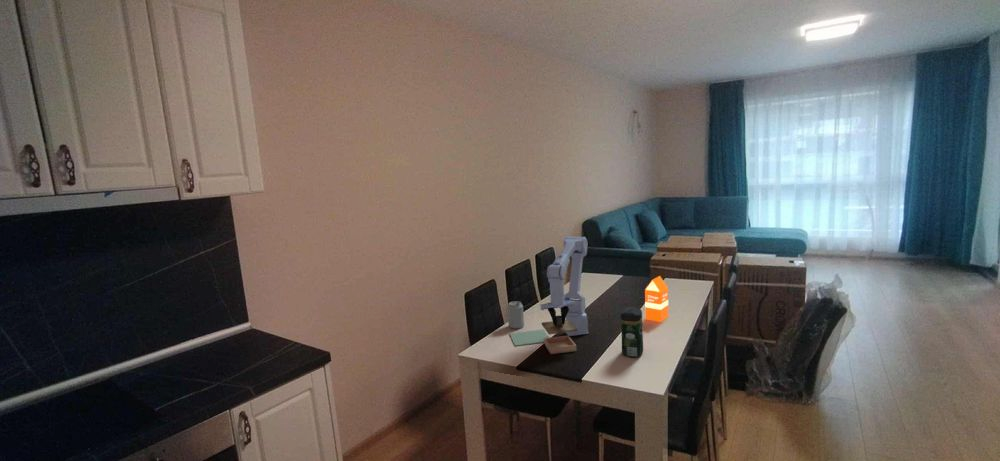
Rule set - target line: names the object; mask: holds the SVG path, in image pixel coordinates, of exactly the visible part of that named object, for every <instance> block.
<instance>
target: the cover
mask: <svg viewBox="0 0 1000 461" xmlns="http://www.w3.org/2000/svg"><path fill="white" fill-rule="evenodd" d="M541 326H542V327H543V328H544V331H546V332H547V333H546V334H547V335H557V334H564V333H565V334H566V332H573V331H577V328H576V327H575V326H574V325H573V324H572V323H571V322H570V321H569V320H566V319H565V323H564V325H563V324H562V316H561V314H559V315H556V326H554V324H553V321H552V320H551V321H545V322H541Z"/></svg>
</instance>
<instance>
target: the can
mask: <svg viewBox="0 0 1000 461" xmlns="http://www.w3.org/2000/svg"><path fill="white" fill-rule="evenodd" d="M507 317H508V318H507V319H508V327H510V328H511V329H513V330H515V329H516V330H519V329H522V328H524V326H525V316H524V305H523V304H522V302H521V301H520V300H519V301H518V300H517V301H516V300H515V301H513V300H512V301H510V302H509V303H508V305H507Z"/></svg>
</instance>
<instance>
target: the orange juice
mask: <svg viewBox="0 0 1000 461" xmlns="http://www.w3.org/2000/svg"><path fill="white" fill-rule="evenodd" d="M644 308H645V320H647V321H652V322H653V321H654V322H659V323H662V322H663V321H664V320H666V319H667V318H669V287H668V286H667V284H666V283H665V281H664V280H663V278H662V277H661V275H659V276H657V277H655V278H652V280H651V281H650V282H649V284H648V285H647V286H646V288H645V289H644Z"/></svg>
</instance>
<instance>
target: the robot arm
mask: <svg viewBox="0 0 1000 461" xmlns="http://www.w3.org/2000/svg"><path fill="white" fill-rule="evenodd" d="M562 244H563V249H562V252H561V253H559V254H557V256H556V257H555V259H554V261H553V262H552V263H551V264H550V265H548V266H547V268H546V277H547V279H548V280H547V282H548V283H549V292H550V302H546V303H543V304H540V305H539V306H540V310H541V311H545V310H547V311H548V312H549V315H550V317H551V319H552V320H551V321H553V324H554V326H556V316H557V315H556V314H557V311H556V309H560V316H562V324H563V325H564V323H565V320H569V321H570V322H571V323H572V324H573V325H574V326H575V327H576V328H577V331H573V332H565V334H566V336H569V337H572V336H581V335H588V334H589V320H588V316H587V313H586V312H585V310H586V298H585V296H583V295H582V294H581V292H580V291H581V284H582V282H581V281H582V273H583V272H582V270H583V261H584V257H586V256H587V253H588V244H589V243H588V239H587V238H586V236H568V235H567V236H565V237H564V239H563V243H562ZM570 257H571V268H570V278H569V286H568V288H569V289H568V292H567V293H565V286H564V285H565V282H564V280H565V277H566V272H567V267H568V266H569V264H570Z"/></svg>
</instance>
